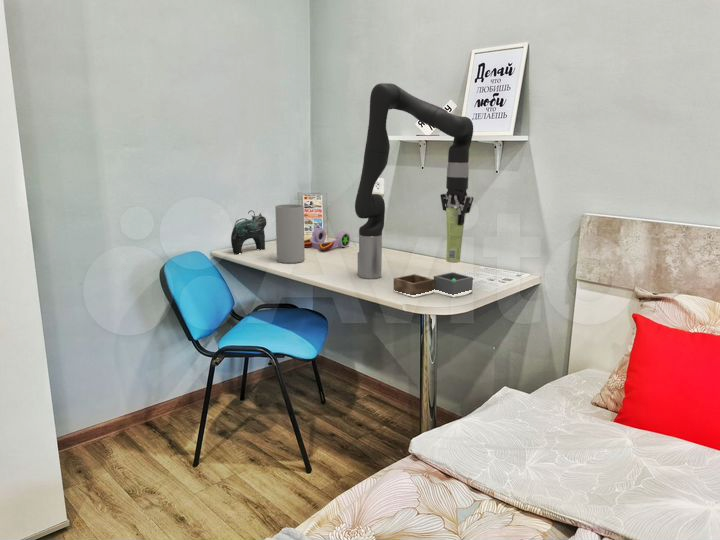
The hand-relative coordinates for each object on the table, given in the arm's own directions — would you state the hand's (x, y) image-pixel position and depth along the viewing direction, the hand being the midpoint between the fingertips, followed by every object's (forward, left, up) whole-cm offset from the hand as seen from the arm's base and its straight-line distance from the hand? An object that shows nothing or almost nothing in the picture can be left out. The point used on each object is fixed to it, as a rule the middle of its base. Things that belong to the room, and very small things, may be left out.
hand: (455, 223), depth 200 cm
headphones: (-98, +10, -26) cm, 102 cm away
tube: (0, 0, -14) cm, 14 cm away
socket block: (0, 0, -25) cm, 25 cm away
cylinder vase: (-81, -20, -26) cm, 87 cm away
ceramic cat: (-111, -25, -26) cm, 117 cm away
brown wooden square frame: (-9, -11, -25) cm, 29 cm away
